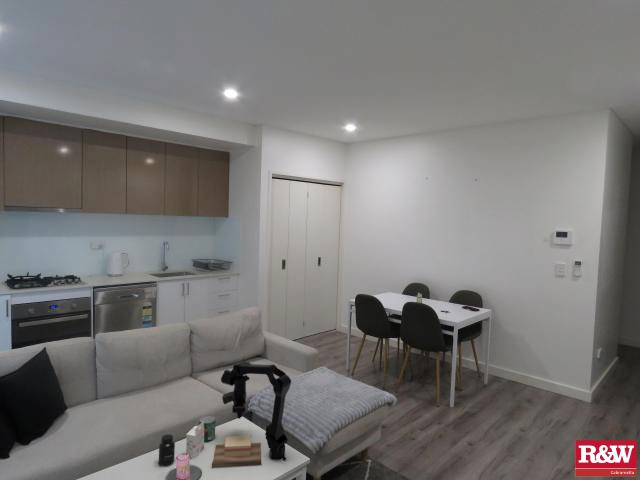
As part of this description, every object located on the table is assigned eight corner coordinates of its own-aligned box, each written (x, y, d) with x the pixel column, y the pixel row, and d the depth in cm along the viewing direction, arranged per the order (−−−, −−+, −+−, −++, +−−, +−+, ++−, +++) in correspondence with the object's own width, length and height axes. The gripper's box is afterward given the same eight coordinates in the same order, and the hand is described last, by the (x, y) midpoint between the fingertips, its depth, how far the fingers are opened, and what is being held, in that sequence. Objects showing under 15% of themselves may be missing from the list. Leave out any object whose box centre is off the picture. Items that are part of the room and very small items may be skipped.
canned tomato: (195, 443, 204) (196, 421, 204) (203, 435, 212) (204, 414, 211) (210, 445, 202) (210, 423, 202) (217, 437, 210) (218, 416, 209)
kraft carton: (225, 446, 200) (226, 436, 200) (250, 445, 202) (251, 435, 202) (224, 457, 191) (224, 446, 191) (250, 455, 193) (250, 445, 193)
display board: (215, 446, 201) (215, 440, 201) (260, 444, 205) (260, 438, 205) (211, 470, 182) (211, 463, 182) (261, 467, 186) (261, 460, 186)
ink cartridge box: (194, 448, 199) (195, 419, 198) (204, 450, 198) (204, 420, 197) (185, 458, 191) (186, 427, 190) (195, 460, 190) (196, 429, 189)
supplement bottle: (167, 468, 183) (167, 442, 182) (155, 464, 185) (155, 438, 185) (177, 460, 189) (178, 434, 189) (165, 456, 192) (166, 431, 191)
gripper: (224, 380, 212) (224, 410, 212) (221, 396, 193) (221, 428, 194) (246, 380, 213) (245, 409, 214) (245, 395, 195) (245, 427, 196)
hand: (239, 418), depth 204 cm, fingers closed
